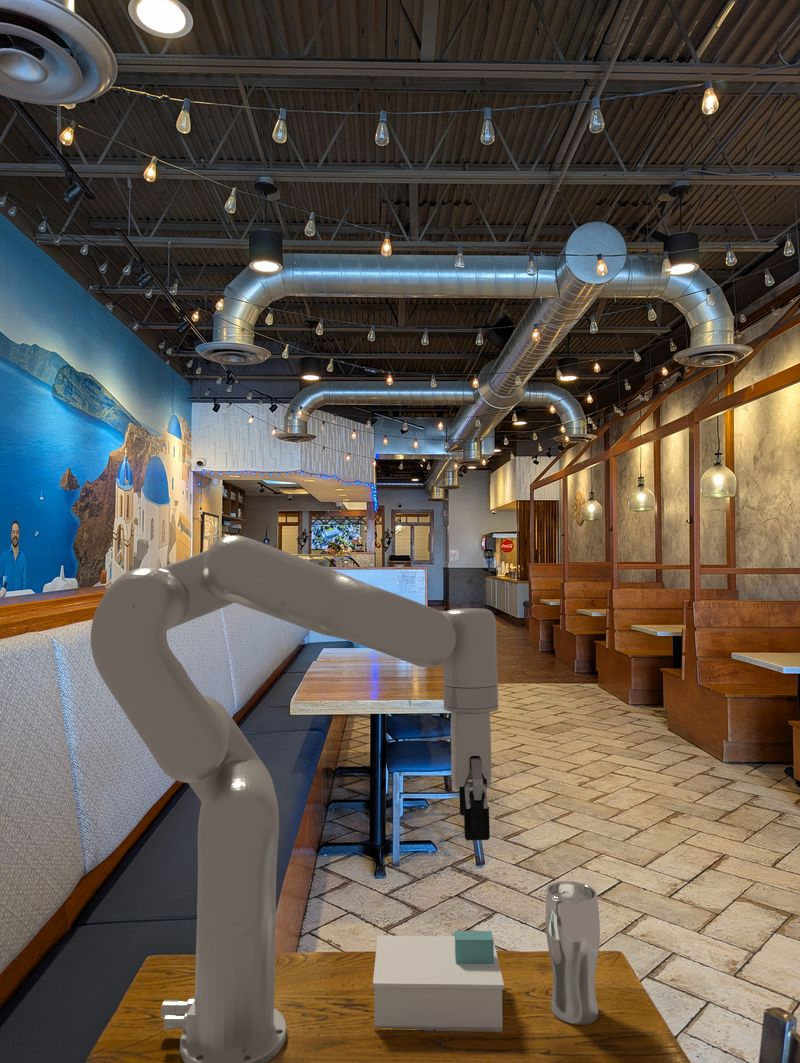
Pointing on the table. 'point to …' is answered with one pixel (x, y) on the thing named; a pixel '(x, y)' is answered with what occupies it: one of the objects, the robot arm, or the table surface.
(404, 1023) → the mailer box
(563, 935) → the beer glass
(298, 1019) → the table surface
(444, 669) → the robot arm
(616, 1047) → the table surface
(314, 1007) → the table surface
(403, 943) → the box lid
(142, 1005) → the table surface
